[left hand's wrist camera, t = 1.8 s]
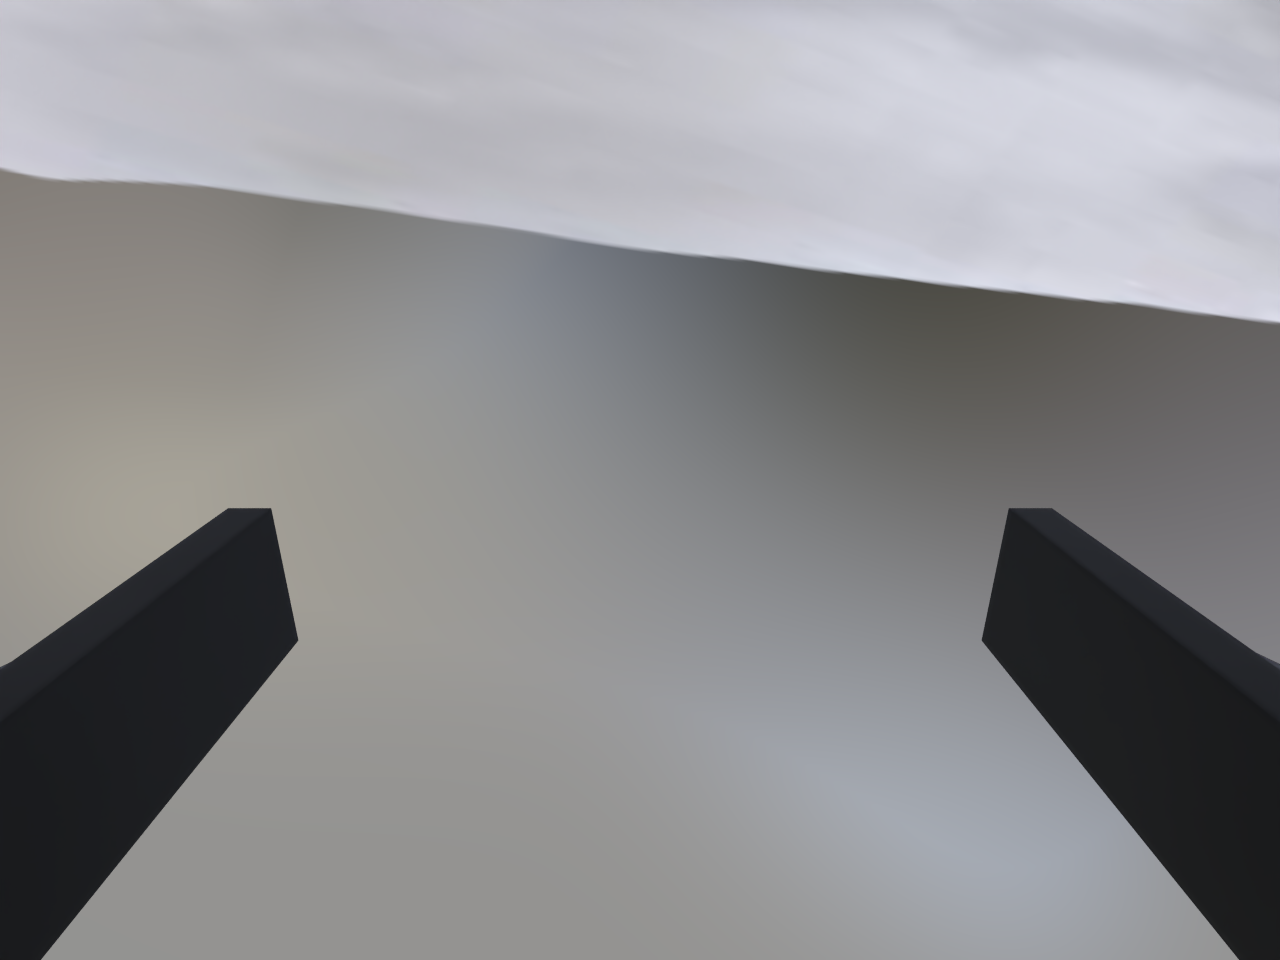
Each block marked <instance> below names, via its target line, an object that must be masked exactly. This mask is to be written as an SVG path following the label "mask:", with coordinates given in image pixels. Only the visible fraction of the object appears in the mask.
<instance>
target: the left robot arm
mask: <svg viewBox="0 0 1280 960" xmlns="http://www.w3.org/2000/svg"><path fill="white" fill-rule="evenodd" d="M297 641H298V637H297V632H296V627H295V622H294V617H293V612H292V607H291V603H290V598H289V593H288V588H287V583H286V578H285V573H284V569H283V564H282V559H281V554H280V549H279V544H278V540H277V534H276V530H275V525H274V520H273V515H272V510H271V508H228V509H227V510H225V511H224V512H222V513H221V514H219V515H218V516H217V517H215V518H214V519H212V520H211V521H210V522H208V523H207V524H205V525H204V526H202V527H201V528H200V529H198V530H197V531H195V532H194V533H193V534H191V535H190V536H188V537H187V538H186V539H184V540H183V541H181V542H180V543H179V544H177V545H176V546H174V547H173V548H171V549H170V550H169V551H167V552H166V553H164V554H163V555H162V556H160V557H159V558H157V559H156V560H154V561H153V562H152V563H150V564H149V565H147V566H146V567H145V568H143V569H142V570H140V571H139V572H138V573H136V574H135V575H133V576H132V577H131V578H129V579H128V580H126V581H125V582H123V583H122V584H121V585H119V586H118V587H116V588H115V589H114V590H112V591H111V592H109V593H108V594H106V595H105V596H104V597H102V598H101V599H99V600H98V601H97V602H95V603H94V604H92V605H91V606H90V607H88V608H87V609H85V610H84V611H82V612H81V613H80V614H78V615H77V616H75V617H74V618H73V619H71V620H70V621H68V622H67V623H66V624H64V625H63V626H61V627H60V628H58V629H57V630H56V631H54V632H53V633H51V634H50V635H49V636H47V637H46V638H44V639H43V640H42V641H40V642H39V643H37V644H36V645H34V646H33V647H32V648H30V649H29V650H27V651H26V652H25V653H23V654H22V655H20V656H19V657H18V658H16V659H15V660H13V661H12V662H10V663H8V664H6V665H4V666H2V667H0V960H41V959H42V958H43V956H44V955H45V954H46V953H47V951H48V950H49V949H50V948H51V947H52V945H53V944H54V943H55V942H56V940H57V939H58V938H59V937H60V935H61V934H62V933H63V932H64V930H65V929H66V928H67V927H68V925H69V924H70V923H71V922H72V920H73V919H74V918H75V917H76V915H77V914H78V913H79V912H80V911H81V909H82V908H83V907H84V906H85V904H86V903H87V902H88V901H89V899H90V898H91V897H92V896H93V894H94V893H95V892H96V891H97V889H98V888H99V887H100V886H101V884H102V883H103V882H104V881H105V880H106V878H107V877H108V876H109V875H110V873H111V872H112V871H113V870H114V868H115V867H116V866H117V865H118V863H119V862H120V861H121V860H122V858H123V857H124V856H125V855H126V854H127V852H128V851H129V850H130V849H131V847H132V846H133V845H134V844H135V842H136V841H137V840H138V839H139V837H140V836H141V835H142V834H143V832H144V831H145V830H146V829H147V827H148V826H149V825H150V824H151V823H152V821H153V820H154V819H155V817H156V816H157V815H158V814H159V813H160V811H161V810H162V809H163V808H164V806H165V805H166V804H167V803H168V801H169V800H170V799H171V798H172V796H173V795H174V794H175V793H176V791H177V790H178V789H179V788H180V787H181V785H182V784H183V783H184V782H185V780H186V779H187V778H188V777H189V775H190V774H191V773H192V772H193V770H194V769H195V768H196V767H197V765H198V764H199V763H200V762H201V761H202V759H203V758H204V757H205V756H206V754H207V753H208V752H209V751H210V749H211V748H212V747H213V746H214V744H215V743H216V742H217V741H218V739H219V738H220V737H221V736H222V734H223V733H224V732H225V731H226V730H227V728H228V727H229V726H230V725H231V723H232V722H233V721H234V720H235V718H236V717H237V716H238V715H239V713H240V712H241V711H242V710H243V708H244V707H245V706H246V705H247V703H248V702H249V701H250V700H251V698H252V697H253V696H254V695H255V694H256V692H257V691H258V690H259V688H260V687H261V686H262V685H263V684H264V682H265V681H266V680H267V679H268V677H269V676H270V675H271V674H272V672H273V671H274V670H275V669H276V668H277V666H278V665H279V664H280V663H281V661H282V660H283V659H284V658H285V656H286V655H287V654H288V653H289V651H290V650H291V649H292V648H293V646H294V645H295V644H296V643H297ZM982 641H983V643H984V644H985V645H986V646H987V648H988V649H989V650H990V651H991V653H992V654H993V655H994V656H995V658H996V659H997V660H998V661H999V663H1000V664H1001V665H1002V666H1003V668H1004V669H1005V670H1006V671H1007V672H1008V674H1009V675H1010V676H1011V677H1012V679H1013V680H1014V681H1015V682H1016V684H1017V685H1018V686H1019V687H1020V689H1021V690H1022V691H1023V692H1024V693H1025V695H1026V696H1027V697H1028V699H1029V700H1030V701H1031V702H1032V703H1033V705H1034V706H1035V707H1036V708H1037V710H1038V711H1039V712H1040V713H1041V715H1042V716H1043V717H1044V718H1045V720H1046V721H1047V722H1048V723H1049V725H1050V726H1051V727H1052V728H1053V730H1054V731H1055V732H1056V733H1057V734H1058V736H1059V737H1060V738H1061V739H1062V741H1063V742H1064V743H1065V744H1066V746H1067V747H1068V748H1069V749H1070V751H1071V752H1072V753H1073V754H1074V755H1075V757H1076V758H1077V759H1078V760H1079V762H1080V763H1081V764H1082V765H1083V767H1084V768H1085V769H1086V770H1087V772H1088V773H1089V774H1090V775H1091V777H1092V778H1093V779H1094V780H1095V782H1096V783H1097V784H1098V785H1099V787H1100V788H1101V789H1102V790H1103V792H1104V793H1105V794H1106V795H1107V796H1108V798H1109V799H1110V800H1111V801H1112V803H1113V804H1114V805H1115V806H1116V808H1117V809H1118V810H1119V811H1120V813H1121V814H1122V815H1123V816H1124V818H1125V819H1126V820H1127V821H1128V823H1129V824H1130V825H1131V826H1132V827H1133V829H1134V830H1135V831H1136V832H1137V834H1138V835H1139V836H1140V837H1141V839H1142V840H1143V841H1144V842H1145V844H1146V845H1147V846H1148V847H1149V849H1150V850H1151V851H1152V852H1153V854H1154V855H1155V856H1156V857H1157V858H1158V860H1159V861H1160V862H1161V863H1162V865H1163V866H1164V867H1165V868H1166V870H1167V871H1168V872H1169V873H1170V875H1171V876H1172V877H1173V878H1174V880H1175V881H1176V882H1177V883H1178V885H1179V886H1180V887H1181V888H1182V889H1183V891H1184V892H1185V893H1186V894H1187V896H1188V897H1189V898H1190V899H1191V901H1192V902H1193V903H1194V904H1195V906H1196V907H1197V908H1198V909H1199V911H1200V912H1201V913H1202V914H1203V916H1204V917H1205V918H1206V919H1207V920H1208V922H1209V923H1210V924H1211V925H1212V927H1213V928H1214V929H1215V930H1216V932H1217V933H1218V934H1219V935H1220V937H1221V938H1222V939H1223V940H1224V942H1225V943H1226V944H1227V945H1228V947H1229V948H1230V949H1231V950H1232V951H1233V953H1234V954H1235V955H1236V956H1237V958H1238V959H1239V960H1280V664H1279V663H1276V662H1274V661H1272V660H1270V659H1268V658H1266V657H1264V656H1262V655H1260V654H1258V653H1255V652H1254V651H1253V650H1251V649H1250V648H1248V647H1247V646H1246V645H1244V644H1243V643H1241V642H1240V641H1238V640H1237V639H1236V638H1234V637H1233V636H1231V635H1230V634H1229V633H1227V632H1226V631H1224V630H1223V629H1221V628H1220V627H1219V626H1217V625H1216V624H1214V623H1213V622H1212V621H1210V620H1209V619H1207V618H1206V617H1205V616H1203V615H1202V614H1200V613H1199V612H1198V611H1196V610H1195V609H1193V608H1192V607H1190V606H1189V605H1188V604H1186V603H1185V602H1183V601H1182V600H1181V599H1179V598H1178V597H1176V596H1175V595H1174V594H1172V593H1171V592H1169V591H1168V590H1166V589H1165V588H1164V587H1162V586H1161V585H1159V584H1158V583H1157V582H1155V581H1154V580H1152V579H1151V578H1150V577H1148V576H1147V575H1145V574H1144V573H1142V572H1141V571H1140V570H1138V569H1137V568H1135V567H1134V566H1133V565H1131V564H1130V563H1128V562H1127V561H1126V560H1124V559H1123V558H1121V557H1120V556H1118V555H1117V554H1116V553H1114V552H1113V551H1111V550H1110V549H1109V548H1107V547H1106V546H1104V545H1103V544H1102V543H1100V542H1099V541H1097V540H1096V539H1094V538H1093V537H1092V536H1090V535H1089V534H1087V533H1086V532H1085V531H1083V530H1082V529H1080V528H1079V527H1077V526H1076V525H1075V524H1073V523H1072V522H1070V521H1069V520H1068V519H1066V518H1065V517H1063V516H1062V515H1061V514H1059V513H1058V512H1056V511H1055V510H1053V509H1052V508H1009V510H1008V515H1007V520H1006V525H1005V530H1004V535H1003V539H1002V544H1001V549H1000V554H999V559H998V564H997V568H996V573H995V578H994V583H993V588H992V593H991V598H990V603H989V607H988V612H987V617H986V622H985V627H984V632H983V637H982Z"/></svg>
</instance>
